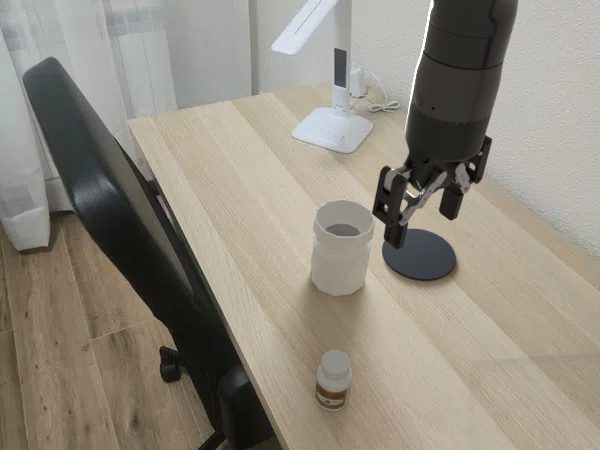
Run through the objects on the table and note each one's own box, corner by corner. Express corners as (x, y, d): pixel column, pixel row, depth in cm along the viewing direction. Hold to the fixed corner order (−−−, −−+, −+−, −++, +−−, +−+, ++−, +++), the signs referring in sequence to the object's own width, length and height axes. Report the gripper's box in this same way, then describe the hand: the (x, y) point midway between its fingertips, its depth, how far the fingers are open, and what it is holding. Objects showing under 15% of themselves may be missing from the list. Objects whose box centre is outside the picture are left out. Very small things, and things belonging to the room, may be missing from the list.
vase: (299, 269, 87) (301, 211, 79) (343, 249, 91) (350, 192, 83) (331, 305, 82) (337, 246, 74) (377, 282, 86) (387, 224, 78)
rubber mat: (443, 228, 96) (443, 226, 95) (465, 278, 87) (465, 277, 86) (375, 231, 95) (375, 229, 94) (390, 282, 86) (391, 281, 85)
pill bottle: (311, 408, 69) (313, 372, 64) (318, 378, 72) (321, 342, 67) (345, 416, 68) (351, 381, 63) (351, 386, 72) (357, 350, 66)
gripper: (427, 140, 45) (398, 276, 56) (533, 95, 52) (489, 224, 63) (367, 102, 50) (351, 235, 61) (471, 65, 57) (440, 191, 67)
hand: (421, 229), depth 62 cm, fingers open, 8 cm apart
